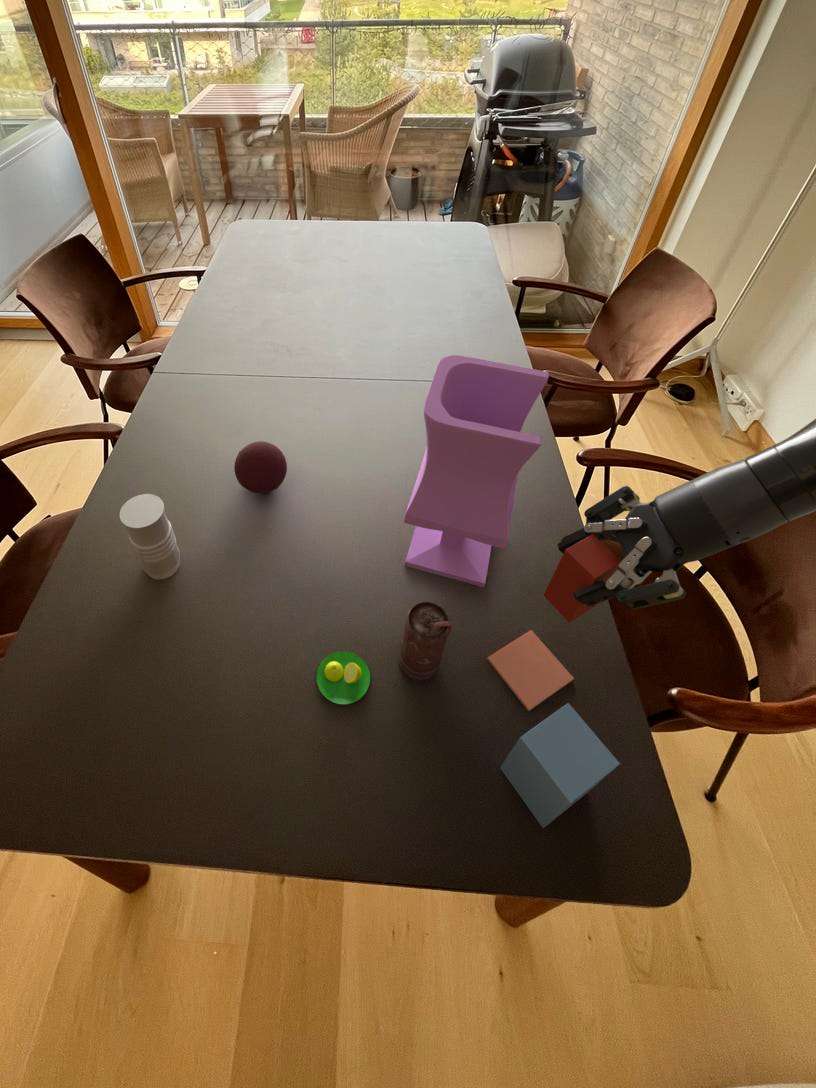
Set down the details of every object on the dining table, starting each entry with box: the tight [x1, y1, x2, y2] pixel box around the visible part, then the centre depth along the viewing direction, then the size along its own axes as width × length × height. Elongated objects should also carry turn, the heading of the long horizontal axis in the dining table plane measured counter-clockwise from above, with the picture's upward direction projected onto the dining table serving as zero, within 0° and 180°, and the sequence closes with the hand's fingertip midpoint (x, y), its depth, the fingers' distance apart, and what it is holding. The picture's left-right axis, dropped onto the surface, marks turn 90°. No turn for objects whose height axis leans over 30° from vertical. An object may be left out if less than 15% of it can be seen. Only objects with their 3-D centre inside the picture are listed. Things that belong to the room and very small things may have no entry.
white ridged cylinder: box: [119, 493, 181, 580], centre depth 94 cm, size 7×7×15 cm
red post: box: [543, 534, 623, 623], centre depth 68 cm, size 4×4×10 cm
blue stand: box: [500, 702, 621, 829], centre depth 71 cm, size 8×8×12 cm
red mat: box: [486, 629, 575, 712], centre depth 86 cm, size 9×9×1 cm
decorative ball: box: [233, 440, 288, 495], centre depth 109 cm, size 10×10×10 cm
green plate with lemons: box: [316, 650, 371, 705], centre depth 84 cm, size 8×8×3 cm
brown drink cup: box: [397, 601, 453, 684], centre depth 82 cm, size 6×6×14 cm
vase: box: [403, 354, 550, 588], centre depth 90 cm, size 16×16×35 cm
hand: (569, 573), depth 67 cm, fingers closed on red post, 6 cm apart
